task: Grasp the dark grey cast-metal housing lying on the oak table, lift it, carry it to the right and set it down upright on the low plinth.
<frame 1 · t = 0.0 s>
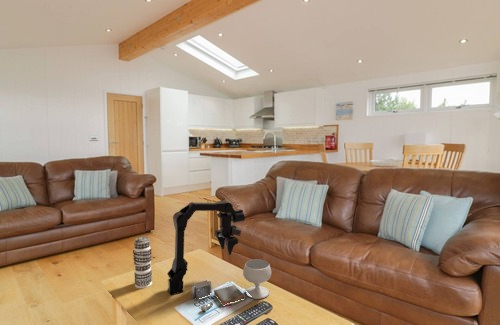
hand: (226, 251, 159), 15 cm above the table, fingers open, 9 cm apart
grey striped cylinder: (143, 284, 153), on the table
plinth: (229, 297, 140), on the table
loose bolt: (208, 308, 132), on the table
housing: (201, 295, 142), on the table
chalice: (257, 293, 145), on the table
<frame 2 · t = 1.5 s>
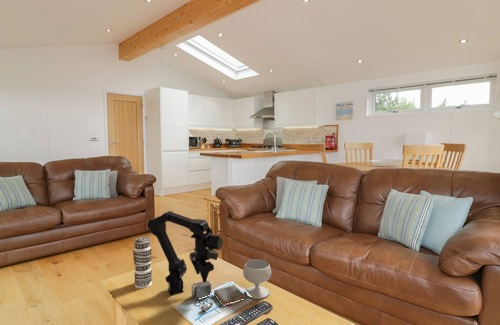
hand: (201, 278, 141), 9 cm above the table, fingers open, 9 cm apart
nothing on the table moved.
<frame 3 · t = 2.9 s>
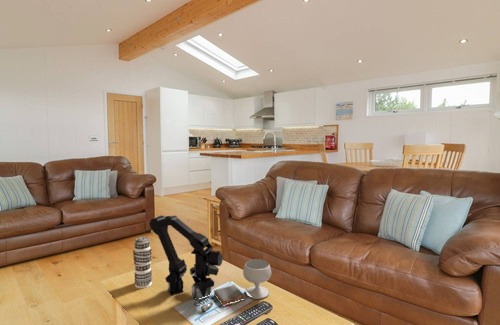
hand: (201, 293, 142), 1 cm above the table, fingers closed on housing, 5 cm apart
housing: (201, 295, 142), on the table, touching gripper
everything else where it was.
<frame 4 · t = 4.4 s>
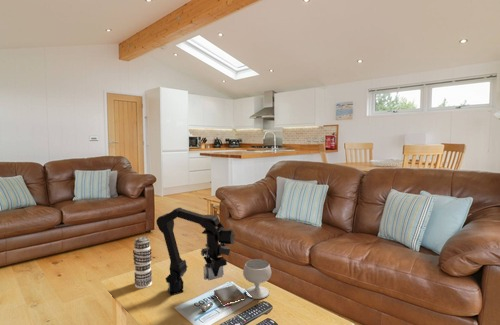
hand: (213, 274, 140), 12 cm above the table, fingers closed on housing, 5 cm apart
housing: (213, 276, 140), point 10 cm above the table, touching gripper
everything else where it was.
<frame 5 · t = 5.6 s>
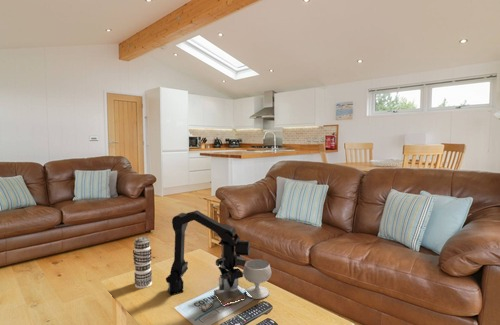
hand: (228, 284, 140), 6 cm above the table, fingers closed on housing, 5 cm apart
housing: (228, 287, 140), point 5 cm above the table, touching gripper
everything else where it was.
when the fingers open (5 cm above the table, at t = 6.3 s): housing stays where it is, resting on plinth.
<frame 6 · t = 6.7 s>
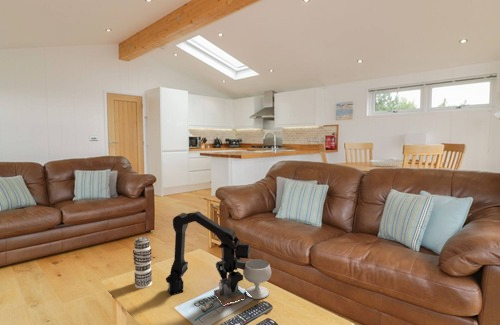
hand: (229, 287, 140), 5 cm above the table, fingers open, 9 cm apart
housing: (228, 292, 140), point 3 cm above the table, touching plinth
everything else where it was.
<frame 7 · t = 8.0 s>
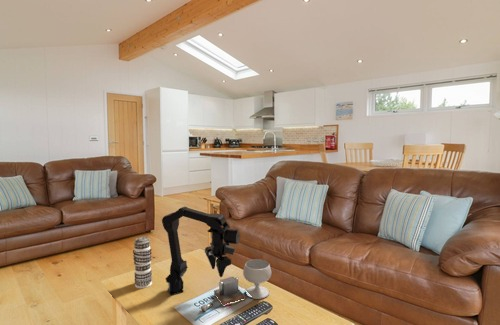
hand: (217, 272, 139), 12 cm above the table, fingers open, 9 cm apart
nothing on the table moved.
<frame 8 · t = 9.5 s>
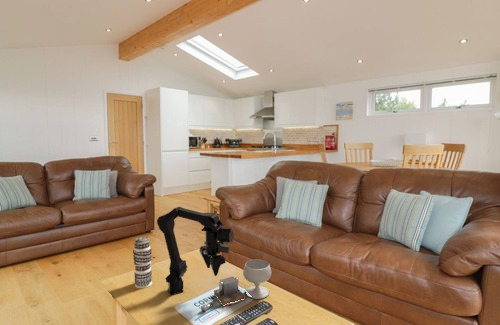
hand: (212, 271, 139), 13 cm above the table, fingers open, 9 cm apart
nothing on the table moved.
at the end: housing inside the target area on the plinth (0.1 cm from its centre), point 2.7 cm above the plinth's base; housing tilted 0°; the gripper is holding nothing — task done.
